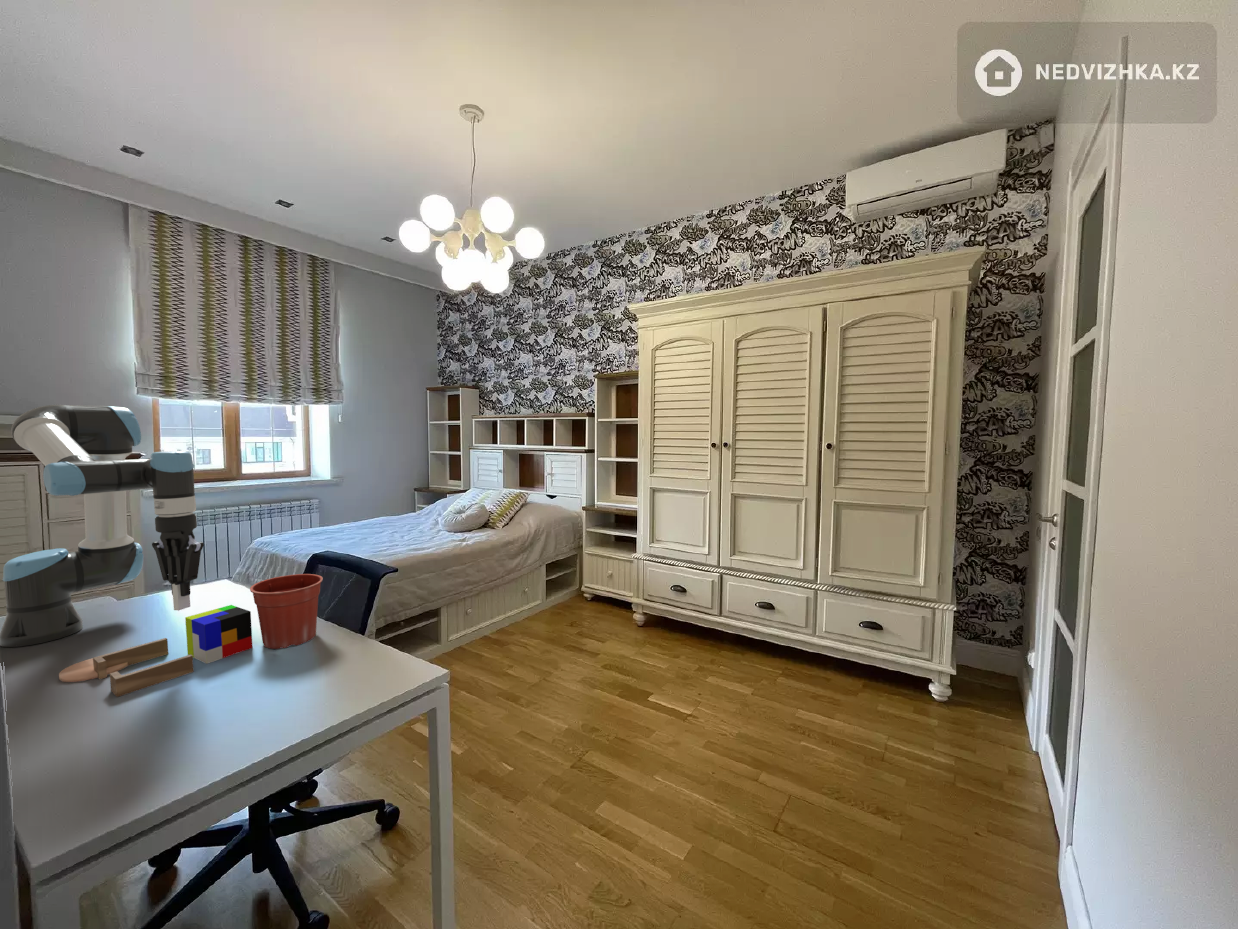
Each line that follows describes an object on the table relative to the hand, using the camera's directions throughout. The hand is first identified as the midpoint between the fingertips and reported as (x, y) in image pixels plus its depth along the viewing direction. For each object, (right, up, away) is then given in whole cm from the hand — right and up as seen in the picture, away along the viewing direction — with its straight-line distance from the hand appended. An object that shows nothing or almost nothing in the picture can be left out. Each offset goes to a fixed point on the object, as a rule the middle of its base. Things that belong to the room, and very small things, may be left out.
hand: (182, 608), depth 121 cm
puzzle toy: (+4, -13, +6) cm, 15 cm away
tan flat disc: (-17, -14, -3) cm, 22 cm away
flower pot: (+18, -13, +13) cm, 26 cm away
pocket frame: (-4, -14, -5) cm, 15 cm away
